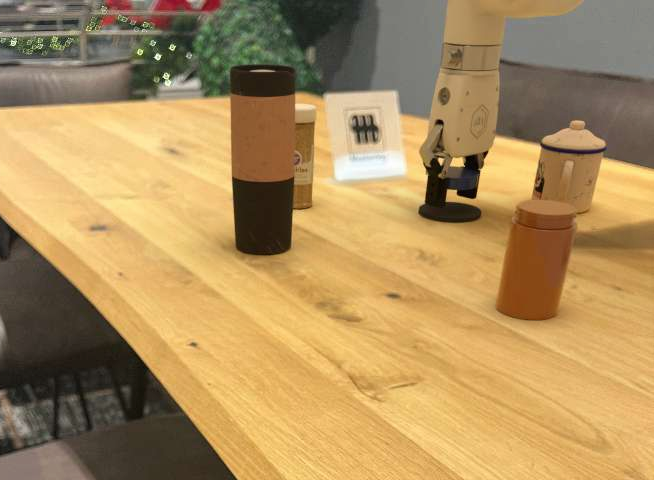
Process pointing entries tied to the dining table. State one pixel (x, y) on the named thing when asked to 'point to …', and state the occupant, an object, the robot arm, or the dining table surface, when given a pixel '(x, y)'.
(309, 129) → the sprinkles bottle
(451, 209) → the coaster
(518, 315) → the jar
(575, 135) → the teacup with lid
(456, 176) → the lid
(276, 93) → the travel mug
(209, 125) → the dining table surface
